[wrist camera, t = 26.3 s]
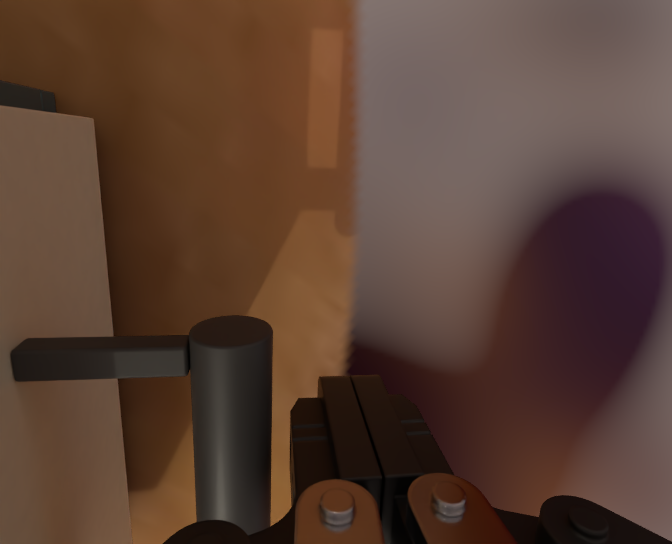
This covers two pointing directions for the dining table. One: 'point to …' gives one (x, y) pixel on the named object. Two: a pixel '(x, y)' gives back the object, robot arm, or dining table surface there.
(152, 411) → the dining table surface
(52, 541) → the drawer
